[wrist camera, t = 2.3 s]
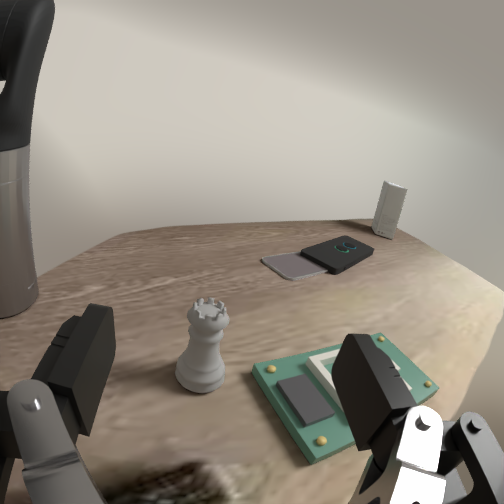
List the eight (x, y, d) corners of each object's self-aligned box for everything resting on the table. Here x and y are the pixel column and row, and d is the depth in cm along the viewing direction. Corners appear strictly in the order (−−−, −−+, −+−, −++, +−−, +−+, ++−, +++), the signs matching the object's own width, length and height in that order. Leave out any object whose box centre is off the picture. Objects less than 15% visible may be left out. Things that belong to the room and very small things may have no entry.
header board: (311, 464, 19) (321, 452, 18) (251, 372, 28) (256, 356, 27) (434, 395, 27) (443, 381, 26) (376, 339, 36) (383, 326, 35)
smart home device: (376, 248, 65) (338, 269, 51) (373, 255, 66) (335, 277, 51) (345, 234, 70) (299, 248, 55) (343, 240, 70) (296, 257, 56)
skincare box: (392, 240, 80) (409, 190, 74) (373, 234, 80) (389, 183, 74) (387, 231, 87) (402, 185, 81) (369, 225, 88) (383, 179, 82)
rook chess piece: (233, 386, 26) (250, 318, 22) (188, 402, 23) (196, 331, 20) (209, 355, 29) (220, 287, 26) (166, 366, 26) (170, 295, 23)
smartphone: (345, 265, 55) (290, 279, 46) (344, 270, 56) (289, 284, 46) (317, 248, 60) (259, 257, 51) (315, 252, 61) (258, 262, 51)
